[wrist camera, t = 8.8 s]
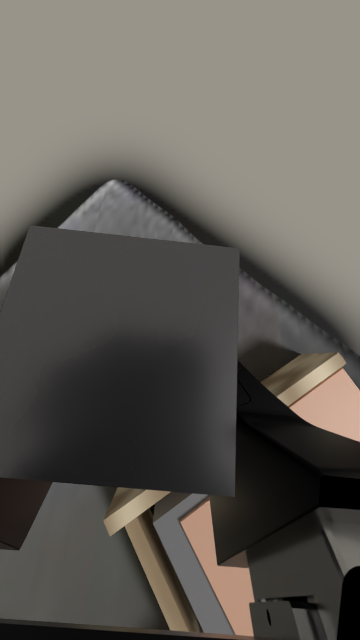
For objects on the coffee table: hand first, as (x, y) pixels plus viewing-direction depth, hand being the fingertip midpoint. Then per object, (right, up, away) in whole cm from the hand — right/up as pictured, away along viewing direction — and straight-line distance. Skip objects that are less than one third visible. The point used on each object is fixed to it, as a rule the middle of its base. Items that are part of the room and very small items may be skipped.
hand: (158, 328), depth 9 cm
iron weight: (0, -3, +6) cm, 7 cm away
